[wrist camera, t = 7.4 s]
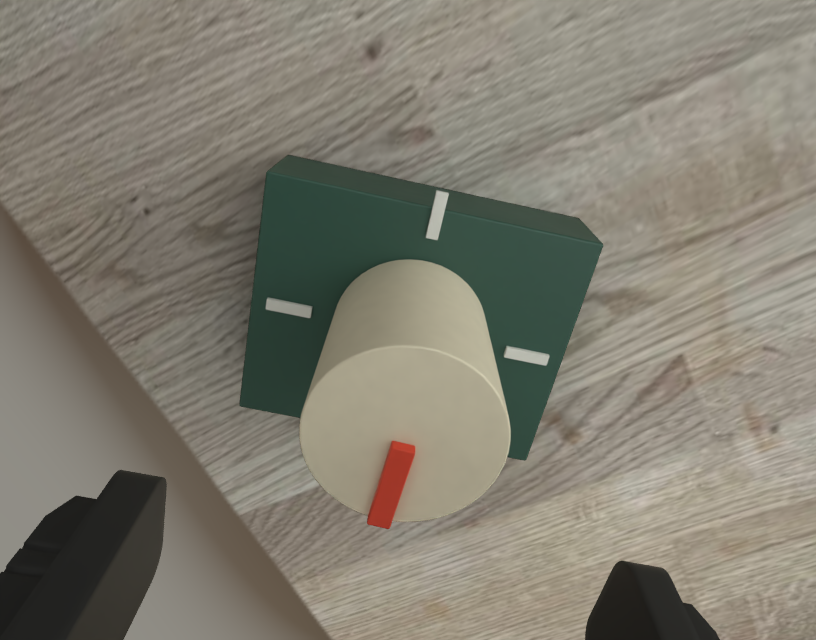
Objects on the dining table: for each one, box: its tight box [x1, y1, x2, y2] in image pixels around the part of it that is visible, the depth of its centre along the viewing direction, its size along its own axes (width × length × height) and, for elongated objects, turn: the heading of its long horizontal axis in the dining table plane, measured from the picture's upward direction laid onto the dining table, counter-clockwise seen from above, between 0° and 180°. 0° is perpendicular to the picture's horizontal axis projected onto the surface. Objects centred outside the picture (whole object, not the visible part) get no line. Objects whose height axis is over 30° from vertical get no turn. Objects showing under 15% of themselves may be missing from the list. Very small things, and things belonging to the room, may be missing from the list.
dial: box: [299, 259, 511, 529], centre depth 16 cm, size 5×5×6 cm
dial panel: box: [240, 155, 603, 460], centre depth 20 cm, size 10×9×3 cm
